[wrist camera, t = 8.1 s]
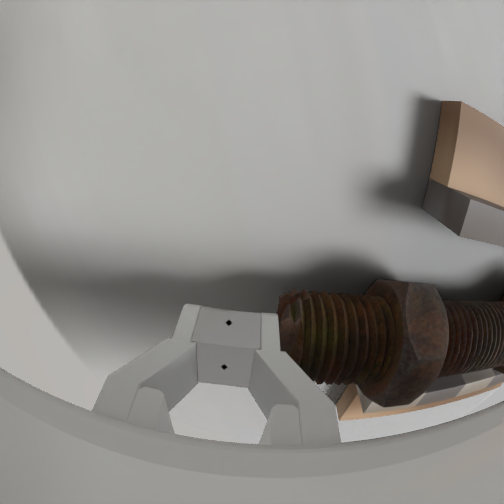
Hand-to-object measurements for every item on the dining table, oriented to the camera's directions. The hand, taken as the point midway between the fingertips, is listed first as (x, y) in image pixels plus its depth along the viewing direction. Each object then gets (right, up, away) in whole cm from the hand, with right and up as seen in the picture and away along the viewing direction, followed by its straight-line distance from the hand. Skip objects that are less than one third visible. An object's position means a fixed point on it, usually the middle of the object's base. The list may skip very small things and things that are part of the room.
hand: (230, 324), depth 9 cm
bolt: (+9, 0, +2) cm, 9 cm away
